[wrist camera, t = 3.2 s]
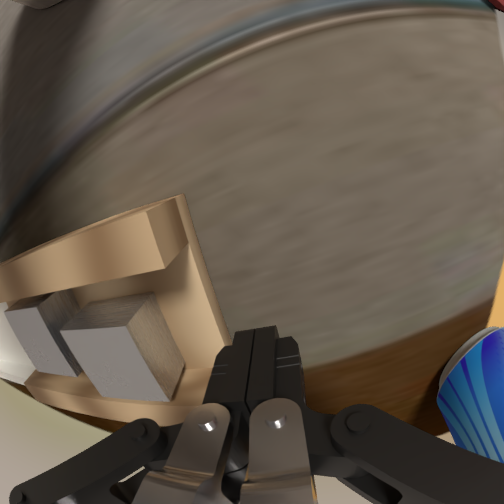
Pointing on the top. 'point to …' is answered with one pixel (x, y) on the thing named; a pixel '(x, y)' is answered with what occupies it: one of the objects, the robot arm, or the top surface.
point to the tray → (12, 353)
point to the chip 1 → (46, 330)
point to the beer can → (476, 394)
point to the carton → (498, 4)
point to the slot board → (125, 284)
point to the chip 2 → (126, 348)
